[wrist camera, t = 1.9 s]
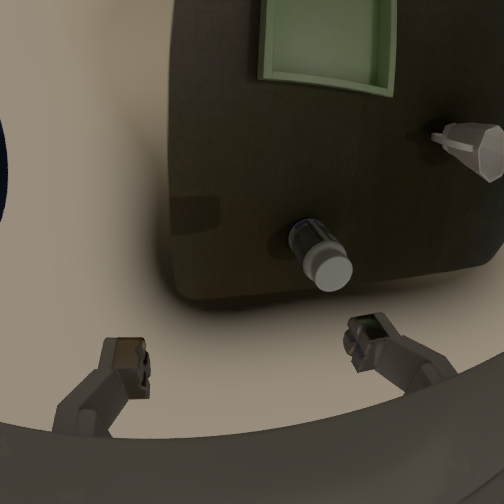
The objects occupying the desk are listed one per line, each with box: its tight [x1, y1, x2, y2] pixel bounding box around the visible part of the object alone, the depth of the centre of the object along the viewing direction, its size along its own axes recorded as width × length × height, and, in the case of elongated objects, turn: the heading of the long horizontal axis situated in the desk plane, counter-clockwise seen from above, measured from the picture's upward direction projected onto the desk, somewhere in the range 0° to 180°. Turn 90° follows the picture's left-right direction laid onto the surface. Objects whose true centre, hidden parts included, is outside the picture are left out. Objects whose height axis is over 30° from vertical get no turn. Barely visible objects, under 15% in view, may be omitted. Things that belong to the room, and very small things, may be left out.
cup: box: [431, 123, 504, 183], centre depth 29 cm, size 7×10×8 cm
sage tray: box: [257, 0, 397, 97], centre depth 23 cm, size 14×14×3 cm
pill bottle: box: [289, 219, 352, 291], centre depth 33 cm, size 5×5×8 cm
